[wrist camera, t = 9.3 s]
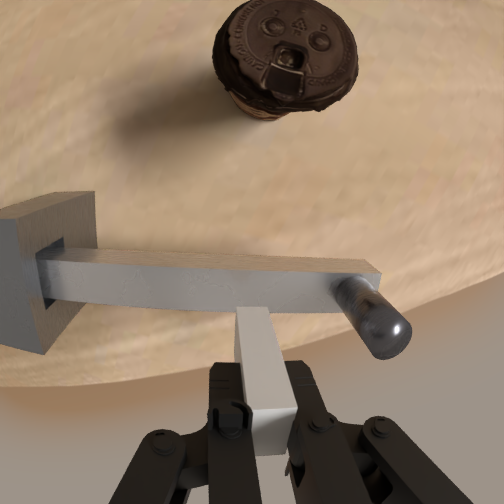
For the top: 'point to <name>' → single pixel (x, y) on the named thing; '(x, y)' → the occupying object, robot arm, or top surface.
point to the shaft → (228, 286)
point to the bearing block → (25, 267)
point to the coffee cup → (285, 57)
